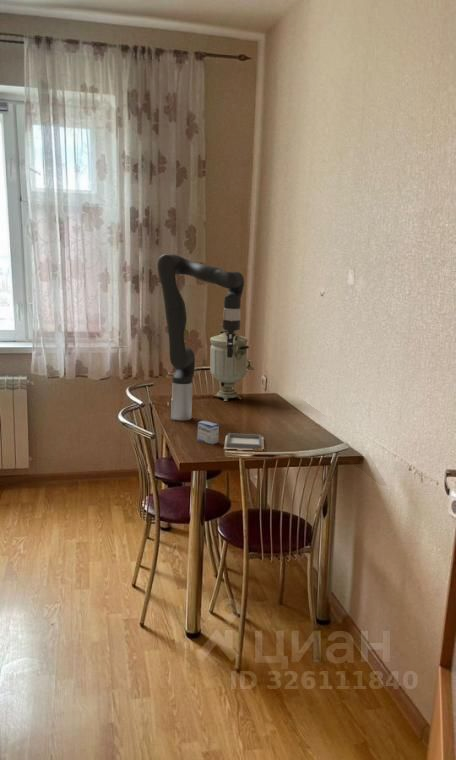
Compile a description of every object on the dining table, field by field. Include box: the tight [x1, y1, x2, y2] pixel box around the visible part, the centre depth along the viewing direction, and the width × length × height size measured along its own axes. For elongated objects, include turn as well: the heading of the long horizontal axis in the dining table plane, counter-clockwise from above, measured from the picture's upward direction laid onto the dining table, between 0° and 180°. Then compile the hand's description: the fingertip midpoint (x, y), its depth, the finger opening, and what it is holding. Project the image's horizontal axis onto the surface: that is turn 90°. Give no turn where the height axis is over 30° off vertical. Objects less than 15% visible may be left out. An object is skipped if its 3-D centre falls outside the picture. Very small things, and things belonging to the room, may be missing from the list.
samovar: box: [209, 323, 255, 402], centre depth 323 cm, size 30×26×40 cm
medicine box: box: [196, 420, 220, 445], centre depth 251 cm, size 8×4×9 cm, turn 53°
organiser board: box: [223, 432, 265, 451], centre depth 250 cm, size 16×17×3 cm
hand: (230, 355), depth 266 cm, fingers open, 8 cm apart
